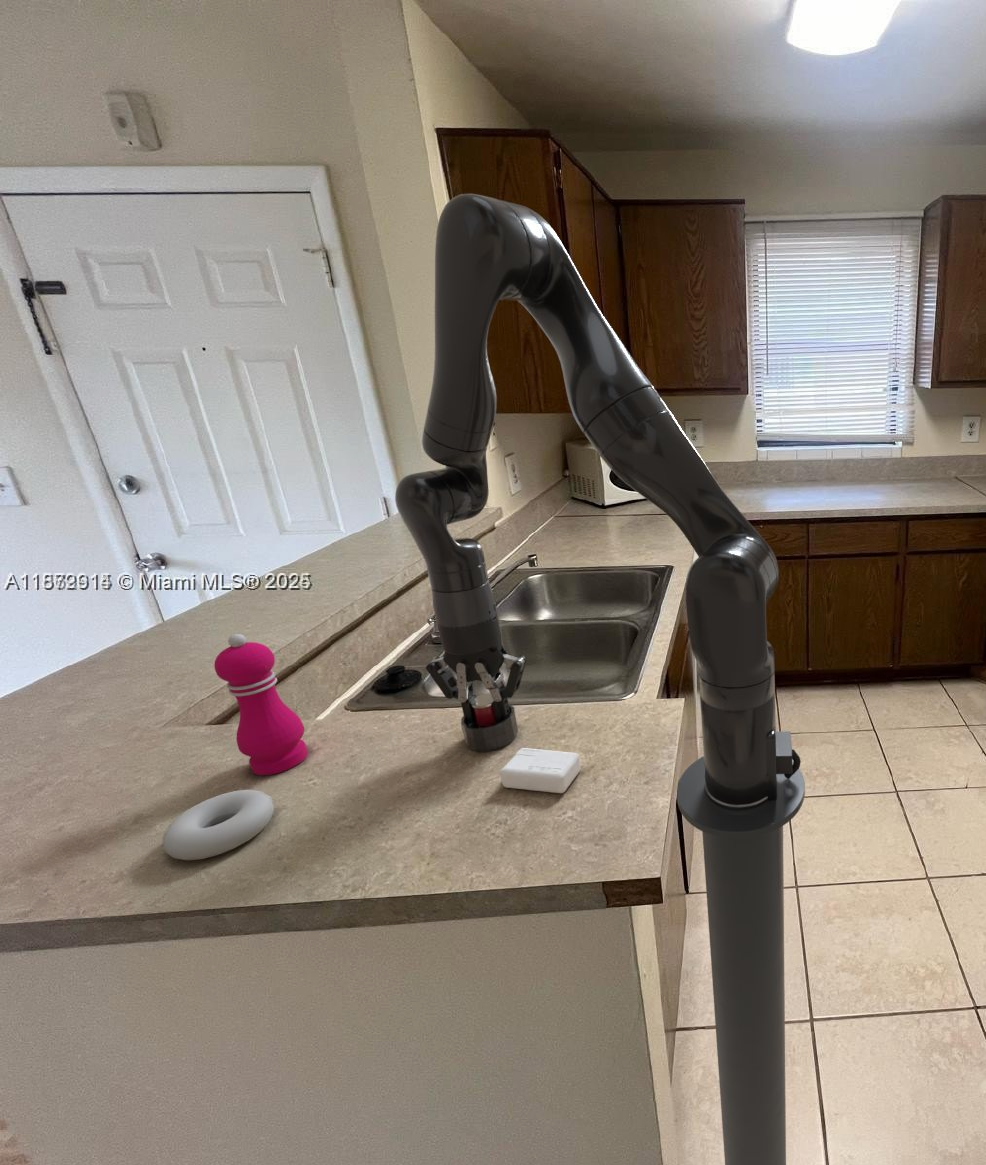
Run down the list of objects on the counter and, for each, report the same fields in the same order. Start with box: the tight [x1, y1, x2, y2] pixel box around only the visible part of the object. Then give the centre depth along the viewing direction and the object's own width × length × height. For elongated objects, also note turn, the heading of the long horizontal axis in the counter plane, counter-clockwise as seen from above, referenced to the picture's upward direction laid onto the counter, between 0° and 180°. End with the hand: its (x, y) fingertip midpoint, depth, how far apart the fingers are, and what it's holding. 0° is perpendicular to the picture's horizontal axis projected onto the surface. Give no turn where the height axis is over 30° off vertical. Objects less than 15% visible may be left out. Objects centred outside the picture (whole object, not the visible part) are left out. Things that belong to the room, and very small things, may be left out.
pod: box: [471, 692, 497, 726], centre depth 88 cm, size 4×4×4 cm
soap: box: [499, 747, 582, 794], centre depth 80 cm, size 9×6×3 cm, turn 81°
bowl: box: [460, 703, 519, 753], centre depth 89 cm, size 7×7×4 cm
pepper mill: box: [213, 633, 309, 776], centre depth 81 cm, size 7×7×20 cm
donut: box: [162, 789, 275, 861], centre depth 71 cm, size 10×4×10 cm
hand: (488, 719), depth 88 cm, fingers closed on pod, 3 cm apart
